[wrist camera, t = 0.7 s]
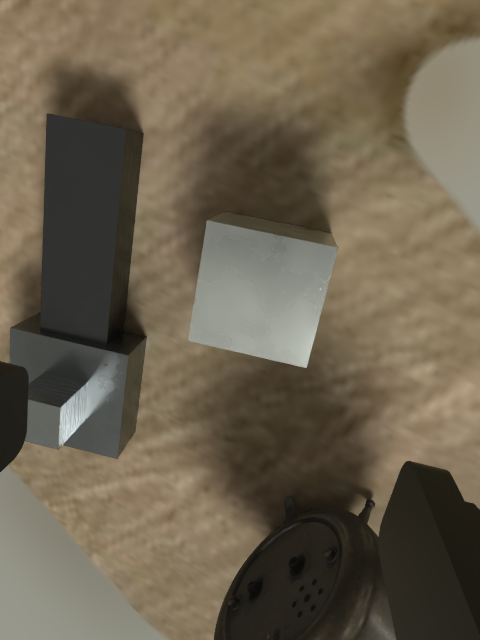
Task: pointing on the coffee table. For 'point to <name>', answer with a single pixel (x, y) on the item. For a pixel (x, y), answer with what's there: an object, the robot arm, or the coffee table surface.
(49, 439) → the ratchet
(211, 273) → the brushed grey cube
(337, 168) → the coffee table surface
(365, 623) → the alarm clock
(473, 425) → the coffee table surface
